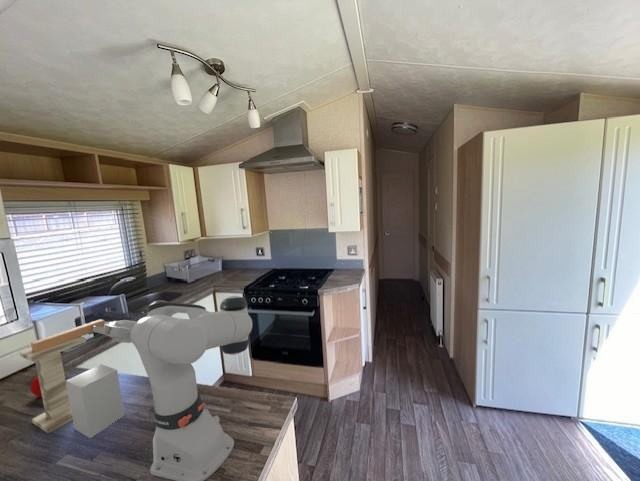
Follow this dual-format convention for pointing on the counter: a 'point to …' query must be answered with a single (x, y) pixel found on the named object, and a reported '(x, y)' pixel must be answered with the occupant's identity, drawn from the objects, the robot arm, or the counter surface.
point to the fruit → (36, 387)
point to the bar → (65, 336)
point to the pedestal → (95, 399)
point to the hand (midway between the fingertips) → (88, 327)
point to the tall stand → (52, 385)
